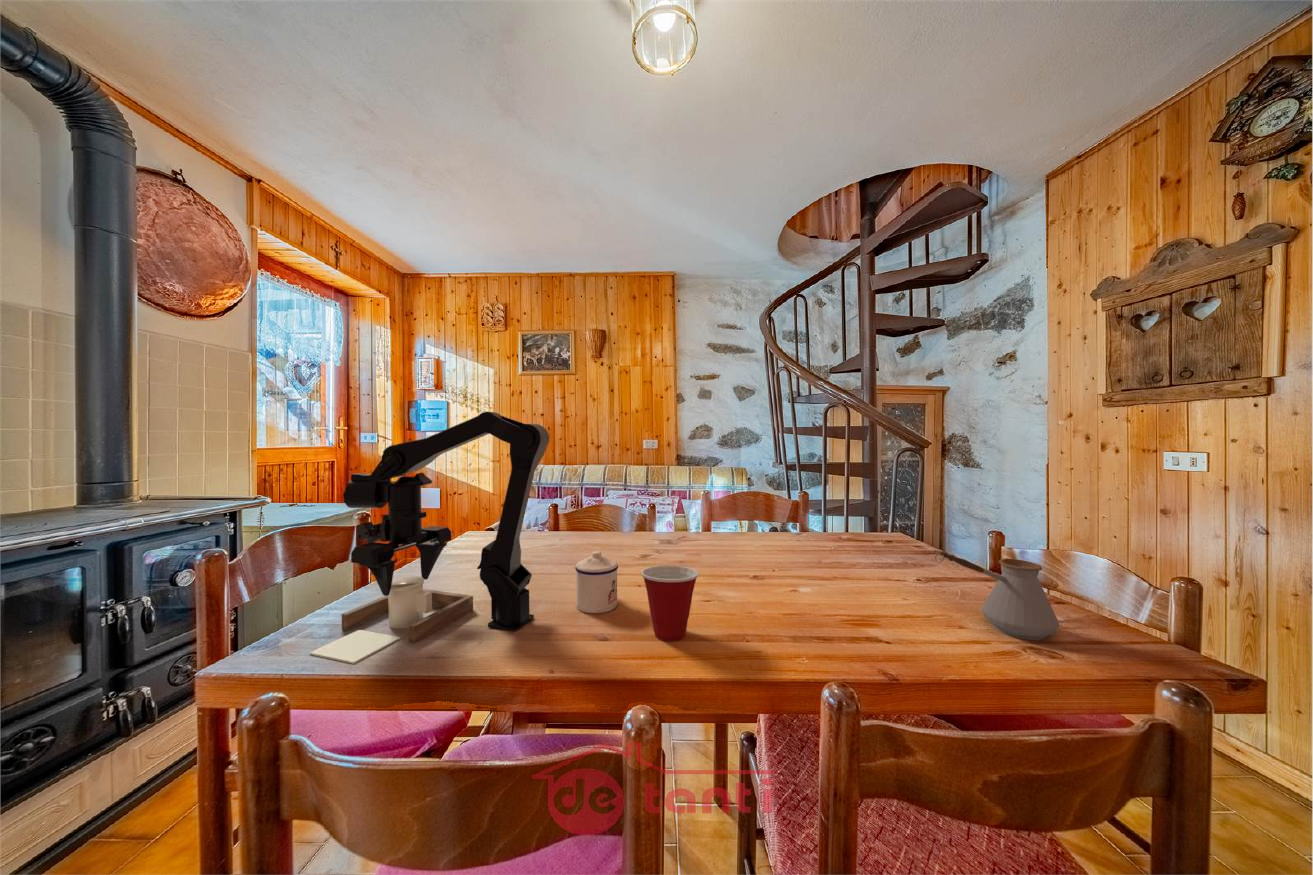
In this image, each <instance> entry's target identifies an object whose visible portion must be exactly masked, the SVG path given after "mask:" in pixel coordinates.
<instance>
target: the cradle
mask: <svg viewBox="0 0 1313 875" xmlns="http://www.w3.org/2000/svg"><path fill="white" fill-rule="evenodd" d="M423 591H426V592H432V608H439V609H438V610H437V611H435V612H433V613H431V614H429V615H427V616H424V617H423V619H421V620H419V621H417V622H415V623H413V624H411V625H409V627H408V642H409V643H412V644H416V643H417V642H419V641H421V640H423V639H424V638H426V637H428V636H430V635H432V634H433V633H434V632H437V631H438V630H441V629H442V628H443V627H445V626H447V625H449V624H451V623H453V622H455V621H456V620H459V619H460V618H462V617H464V616H465V615H467V614H468V613H470V612H472V611H474V595H472V594H471V595H469V594H463V593H457V592H456V593H455V592H447V591H442V590H441V591H440V590H434V589H428V588H427V589H426V588H423ZM386 613H388V596H385V595H383V596H382V597H380V598H377V599H374V600H372V601H369V602H368V603H365V604H362V605H360V606H357V607H355V608H352V609H349V610H348V611H346V612H343V613H341V630H342V631H348V630H351V629H353V628H355V627H357V626H360V625H362V624H364V623H366V622H369V621H371V620H373V619H375V618H378V617H380V616H382V615H384V614H386Z"/></svg>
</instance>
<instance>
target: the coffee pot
mask: <svg viewBox="0 0 1313 875" xmlns="http://www.w3.org/2000/svg"><path fill="white" fill-rule="evenodd" d="M938 555H939V556H941V557H942V558H941V559H940V561H938V560H937V556H938ZM944 559H948V560H949V561H950V562H955V563H957V564H959V565H960V566H962V567H965V568H967V569H970V570H971V571H972V570H973V571H976V572H978V573H982V574H984V575H986V576H989V577H991V578H993V579H995V580H997V582H995V584H994V586H993V587H992V589H991V591H990V593H989V594H988V596H987V598H986V599H985V601H984V602H983V604H982V607H981V612H982V614H983V616H984V617H985V620H987V621H988V622H989V623H990V625H991V624H992V626H993V628H994V629H996V630H997V631H999V632H1000V633H1003V634H1005V635H1008V636H1009V637H1010V636H1011V637H1014V638H1018V639H1022V640H1029V641H1030V640H1033V641H1040V640H1044V639H1045V638H1046V637H1049V636H1052V635H1053V634H1055V633H1056V632H1057V630H1058V629H1059V627H1060V622H1059V619H1058V617H1057V615H1056V614H1055V611H1054V609H1053V607H1052V605H1051V603H1050V601H1049V599H1048V596H1047V595H1046V592H1045V590H1044V588H1043V586H1042V584H1041V581H1040V580H1039V578H1038V576H1039V573H1040V571H1042V570H1043V566H1042V565H1040V564H1038V563H1036V562H1032V561H1028V560H1023V559H1016V558H1001V559H999V560H998V563H999V564H1000V565H1001V568H1002V573H1001V574H997V573H994V572H992V571H990V570H987V569H985V568H983V567H981V566H979V565H976V564H974V563H973V562H971V561H968V560H966V559H964V558H959V557H956V556H955V555H954V554H948V553H947V552H943V551H940V552H937V553H936V554H935V556H934V561H935V562H937V563H942V562H943V561H944Z"/></svg>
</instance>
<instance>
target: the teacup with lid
mask: <svg viewBox="0 0 1313 875" xmlns="http://www.w3.org/2000/svg"><path fill="white" fill-rule="evenodd" d="M618 569H619V565H618V562H617V561H616V560H614V559H612V558H609V557H607V556H605V555H603V554H602V552H601V551H599V550H597V551H596V550H595V551H592V553H591V556H589V557H586V558H585V559H581V560H579V561H578V562H577V563H576V564H575V571H576V608H577V609H578V610H579V611H581V612H583V613H586V614H603V613H608V612H610V611H613V609H615V608H616V607H617V605H618Z"/></svg>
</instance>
